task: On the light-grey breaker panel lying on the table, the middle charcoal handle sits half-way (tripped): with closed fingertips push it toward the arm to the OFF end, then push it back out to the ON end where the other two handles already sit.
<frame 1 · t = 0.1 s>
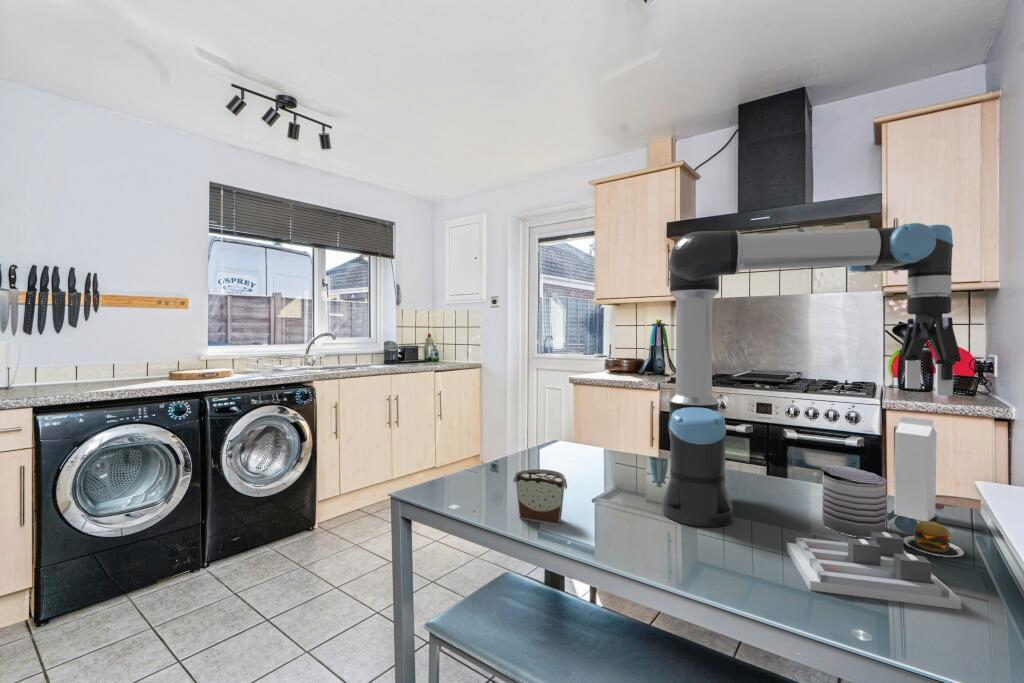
hand: (927, 391, 111), 28 cm above the table, fingers open, 13 cm apart
hamburger: (932, 552, 96), on the table
milk: (914, 516, 112), on the table
food container: (544, 517, 112), on the table
breaker mid: (863, 553, 84), point 4 cm above the table, slide at 0.0 cm
breaker far: (886, 546, 87), point 4 cm above the table, slide at 5.0 cm
can: (852, 529, 105), on the table
breaker near: (911, 569, 79), point 4 cm above the table, slide at 5.0 cm
panel: (863, 576, 84), on the table
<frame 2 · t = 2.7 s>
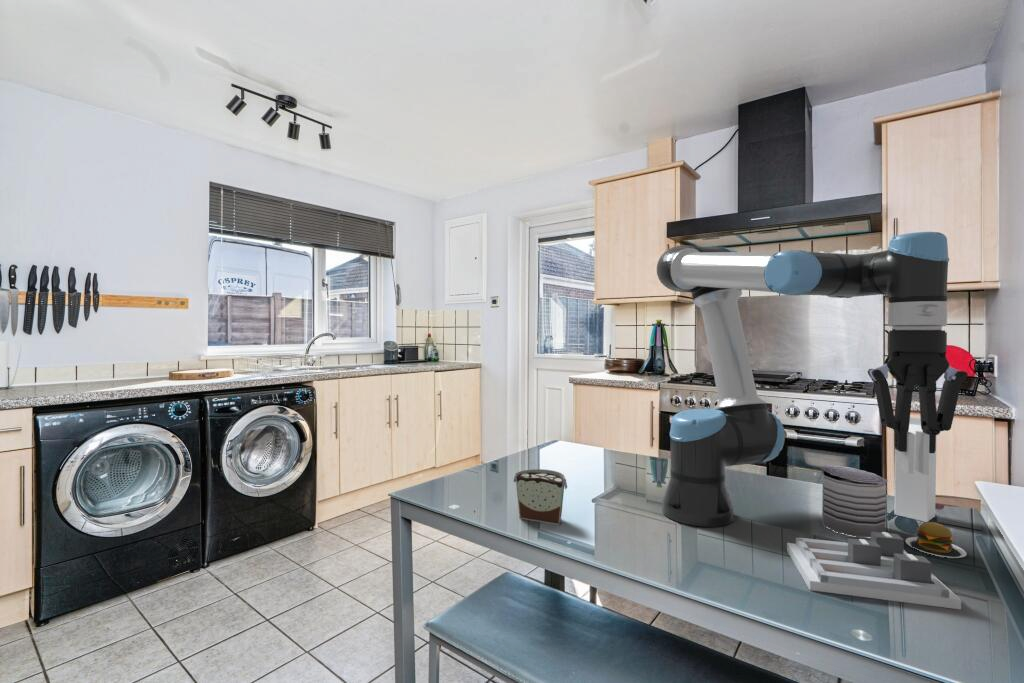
hand: (914, 471, 82), 18 cm above the table, fingers closed
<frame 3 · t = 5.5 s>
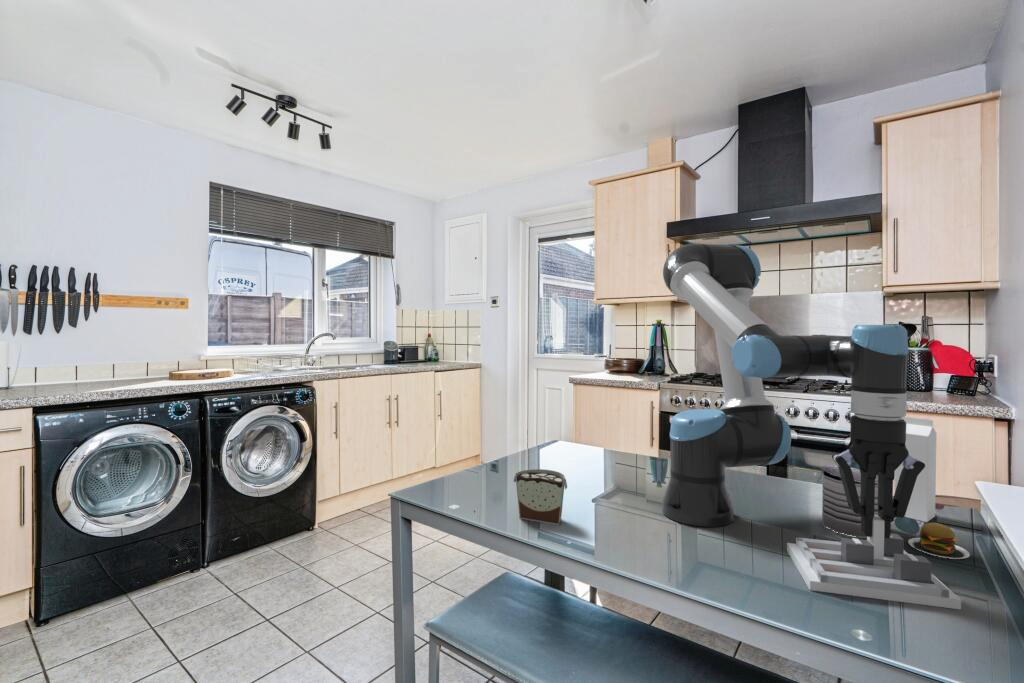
hand: (875, 555, 84), 4 cm above the table, fingers closed
breaker mid: (857, 553, 85), point 4 cm above the table, slide at -1.0 cm, touching gripper
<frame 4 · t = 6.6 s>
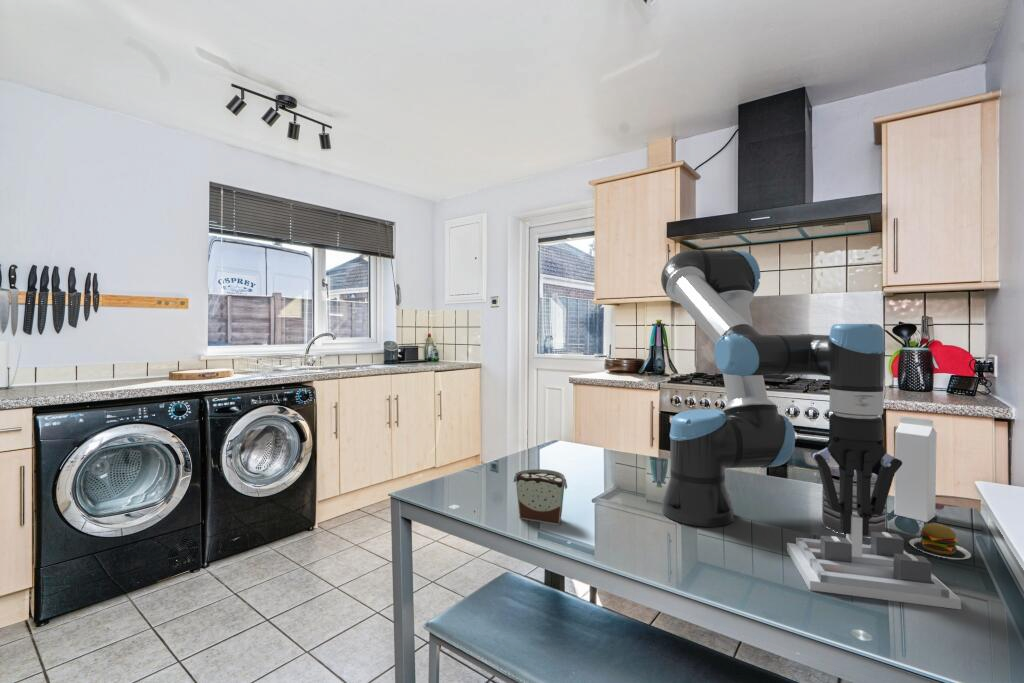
hand: (853, 552, 85), 4 cm above the table, fingers closed
breaker mid: (835, 550, 86), point 4 cm above the table, slide at -4.2 cm, touching gripper
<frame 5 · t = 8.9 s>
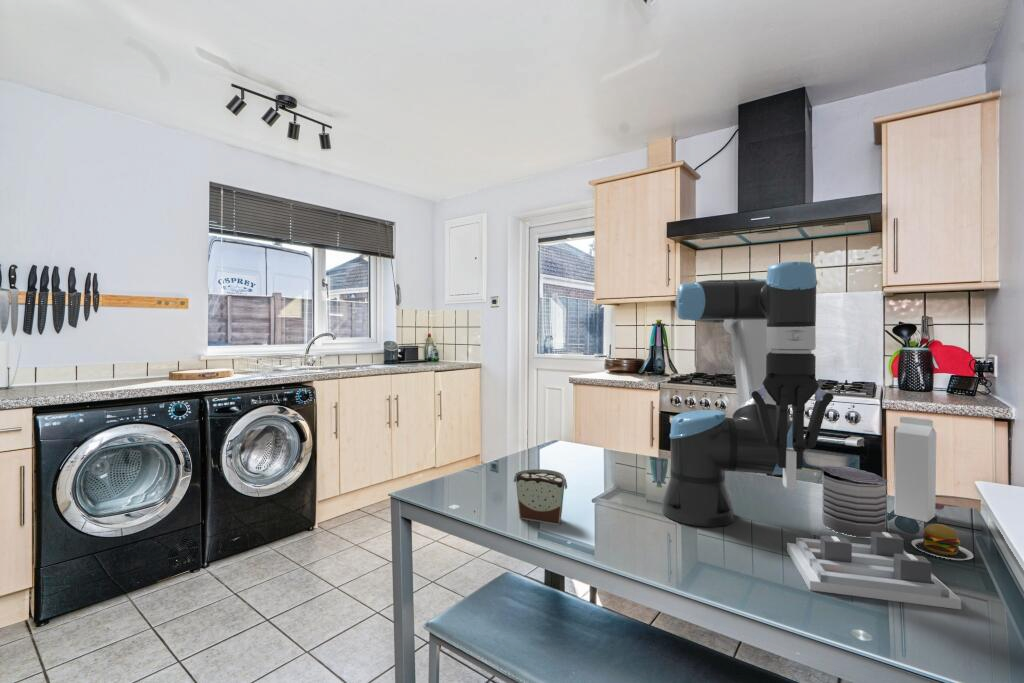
hand: (789, 486, 87), 14 cm above the table, fingers closed
breaker mid: (835, 550, 86), point 4 cm above the table, slide at -4.2 cm
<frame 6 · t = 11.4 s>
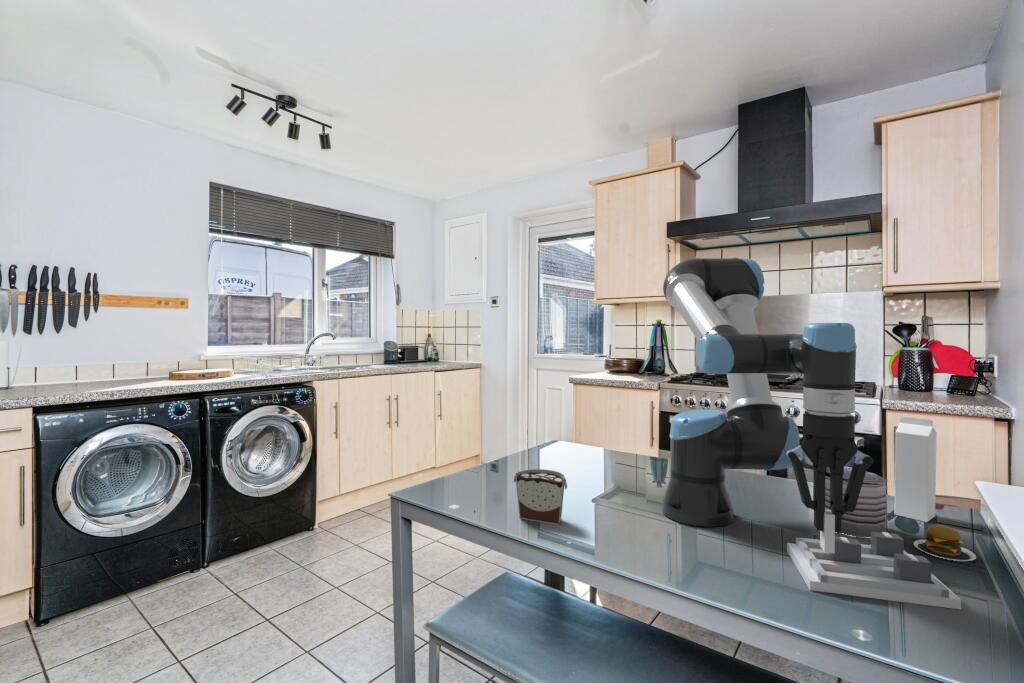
hand: (827, 549, 86), 4 cm above the table, fingers closed
breaker mid: (844, 551, 85), point 4 cm above the table, slide at -2.8 cm, touching gripper
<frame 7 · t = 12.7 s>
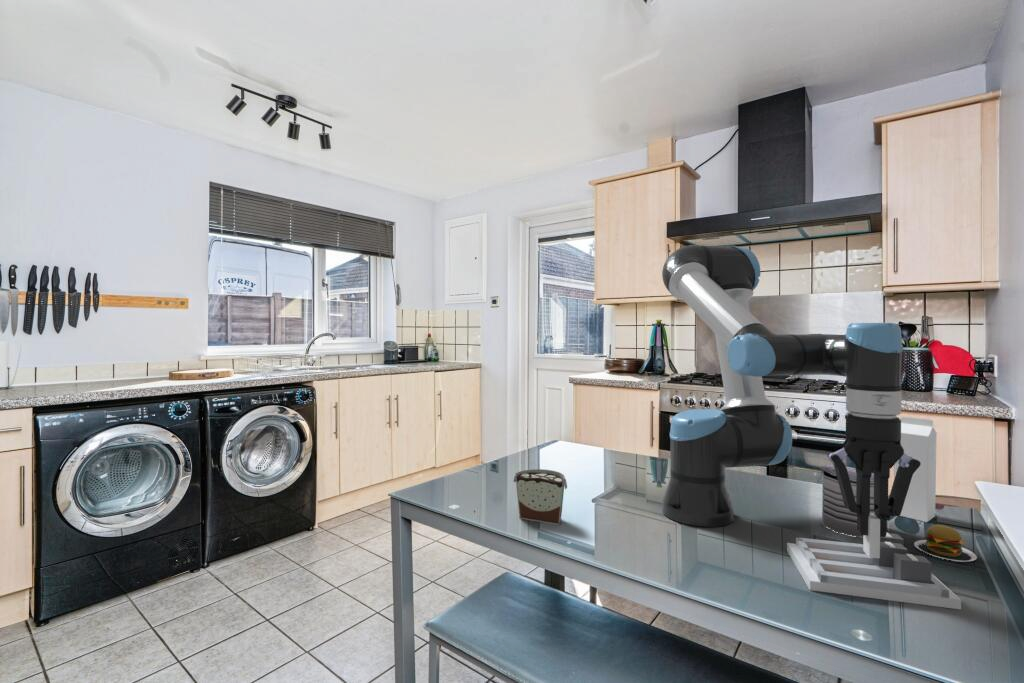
hand: (871, 554, 84), 4 cm above the table, fingers closed
breaker mid: (889, 556, 83), point 4 cm above the table, slide at 3.7 cm, touching gripper
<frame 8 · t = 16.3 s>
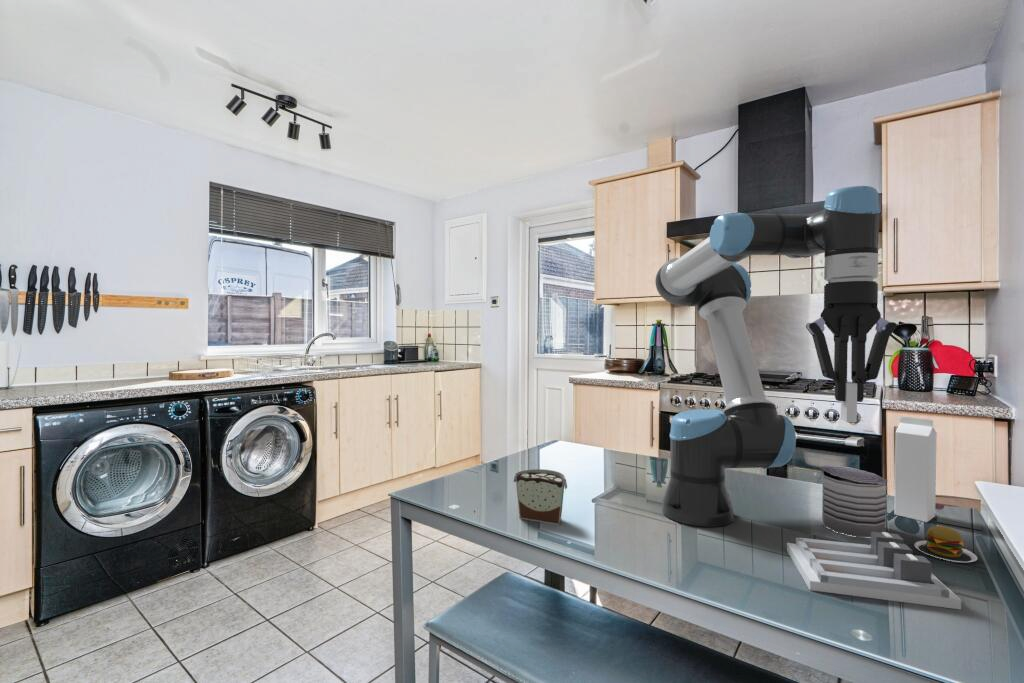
hand: (848, 420, 85), 26 cm above the table, fingers closed
breaker mid: (894, 557, 83), point 4 cm above the table, slide at 4.4 cm
at the end: breaker mid slide at 4.4 cm; breaker near slide at 5.0 cm; breaker far slide at 5.0 cm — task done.
